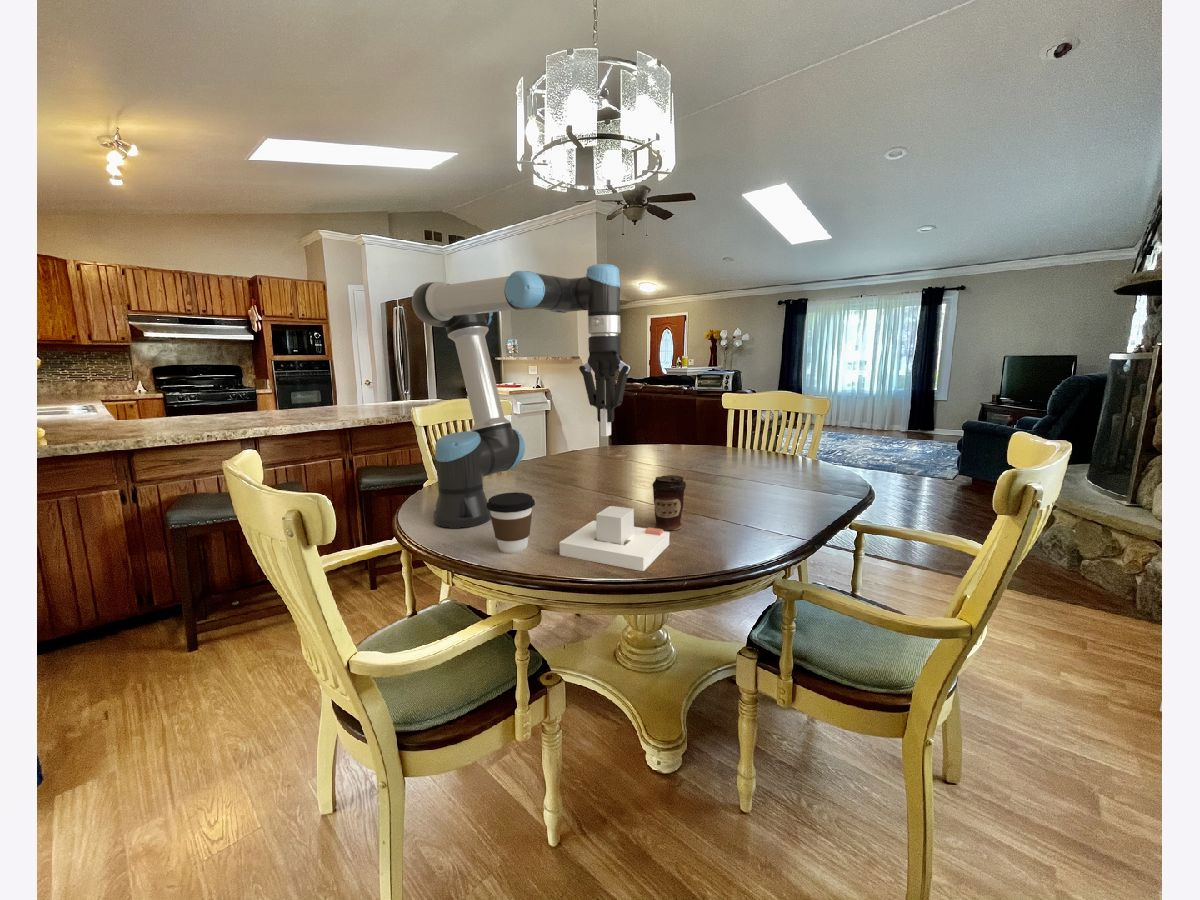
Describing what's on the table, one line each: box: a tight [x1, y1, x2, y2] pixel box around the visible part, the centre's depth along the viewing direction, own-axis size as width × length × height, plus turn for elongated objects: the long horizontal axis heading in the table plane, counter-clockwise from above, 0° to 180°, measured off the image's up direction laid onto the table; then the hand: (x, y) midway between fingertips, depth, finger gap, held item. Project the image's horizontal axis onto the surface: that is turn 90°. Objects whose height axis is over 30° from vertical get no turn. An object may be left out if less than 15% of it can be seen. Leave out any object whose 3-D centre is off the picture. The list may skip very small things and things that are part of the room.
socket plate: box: [558, 520, 670, 572], centre depth 113 cm, size 16×20×4 cm
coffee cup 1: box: [487, 492, 536, 554], centre depth 114 cm, size 11×11×12 cm
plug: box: [595, 505, 635, 545], centre depth 113 cm, size 7×6×9 cm
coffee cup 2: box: [652, 474, 687, 531], centre depth 126 cm, size 9×8×13 cm
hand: (606, 435), depth 121 cm, fingers closed
